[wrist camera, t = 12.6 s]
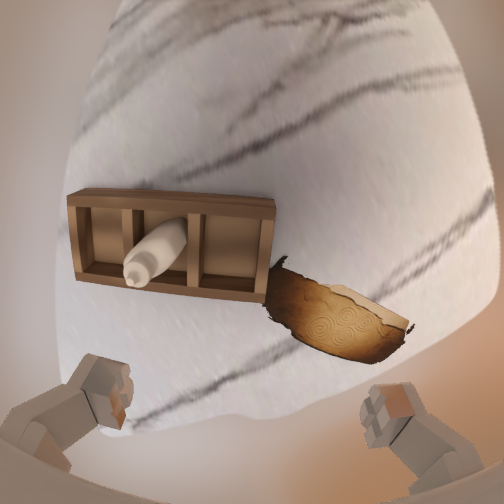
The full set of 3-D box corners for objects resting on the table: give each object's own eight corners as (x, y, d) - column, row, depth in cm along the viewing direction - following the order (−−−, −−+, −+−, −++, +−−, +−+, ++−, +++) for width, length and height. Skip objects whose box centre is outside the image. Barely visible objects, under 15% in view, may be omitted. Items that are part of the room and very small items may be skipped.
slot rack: (86, 187, 32) (66, 195, 28) (273, 199, 33) (276, 208, 29) (92, 265, 36) (75, 280, 32) (263, 284, 37) (264, 303, 32)
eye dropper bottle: (194, 254, 34) (166, 309, 23) (148, 252, 34) (104, 303, 23) (193, 216, 33) (160, 257, 21) (145, 216, 33) (95, 255, 21)
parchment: (417, 325, 39) (419, 328, 38) (377, 371, 42) (379, 374, 41) (277, 247, 35) (278, 249, 35) (238, 310, 38) (237, 313, 38)
